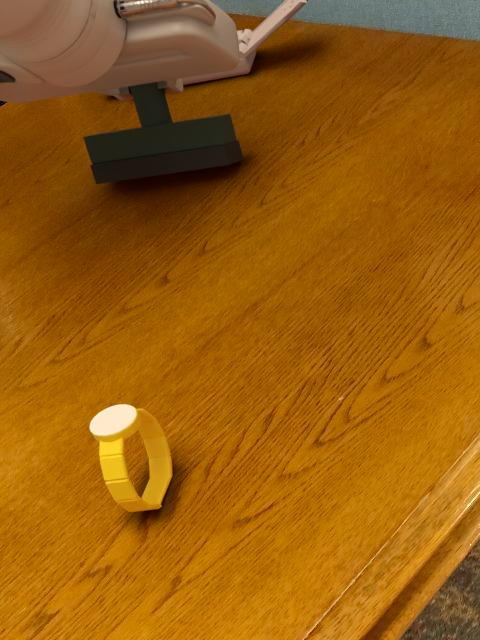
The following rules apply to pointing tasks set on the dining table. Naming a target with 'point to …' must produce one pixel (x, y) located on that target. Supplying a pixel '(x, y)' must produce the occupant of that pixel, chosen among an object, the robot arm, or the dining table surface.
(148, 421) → the watch
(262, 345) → the dining table surface
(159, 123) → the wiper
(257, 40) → the mobile phone
